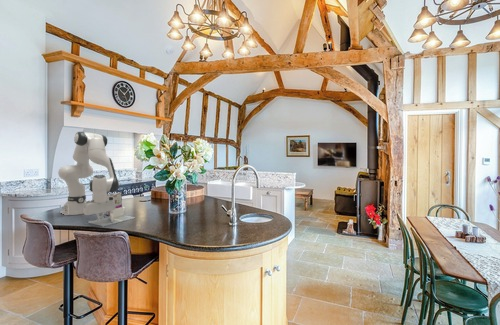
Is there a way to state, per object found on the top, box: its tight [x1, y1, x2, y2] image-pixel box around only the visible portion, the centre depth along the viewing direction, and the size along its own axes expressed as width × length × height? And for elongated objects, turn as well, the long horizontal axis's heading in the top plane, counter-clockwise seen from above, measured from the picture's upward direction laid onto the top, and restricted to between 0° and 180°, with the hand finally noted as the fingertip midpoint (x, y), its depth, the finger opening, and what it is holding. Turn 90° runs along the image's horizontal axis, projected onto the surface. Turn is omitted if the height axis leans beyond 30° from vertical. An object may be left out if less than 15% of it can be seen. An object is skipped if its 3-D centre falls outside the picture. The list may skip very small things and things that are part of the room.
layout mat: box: [87, 215, 136, 227], centre depth 188 cm, size 19×25×1 cm
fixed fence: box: [112, 205, 126, 217], centre depth 195 cm, size 2×12×7 cm, turn 150°
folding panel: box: [109, 210, 113, 222], centre depth 185 cm, size 2×12×6 cm, turn 31°
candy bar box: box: [105, 192, 123, 216], centre depth 207 cm, size 11×5×16 cm, turn 146°
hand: (100, 218), depth 176 cm, fingers closed
